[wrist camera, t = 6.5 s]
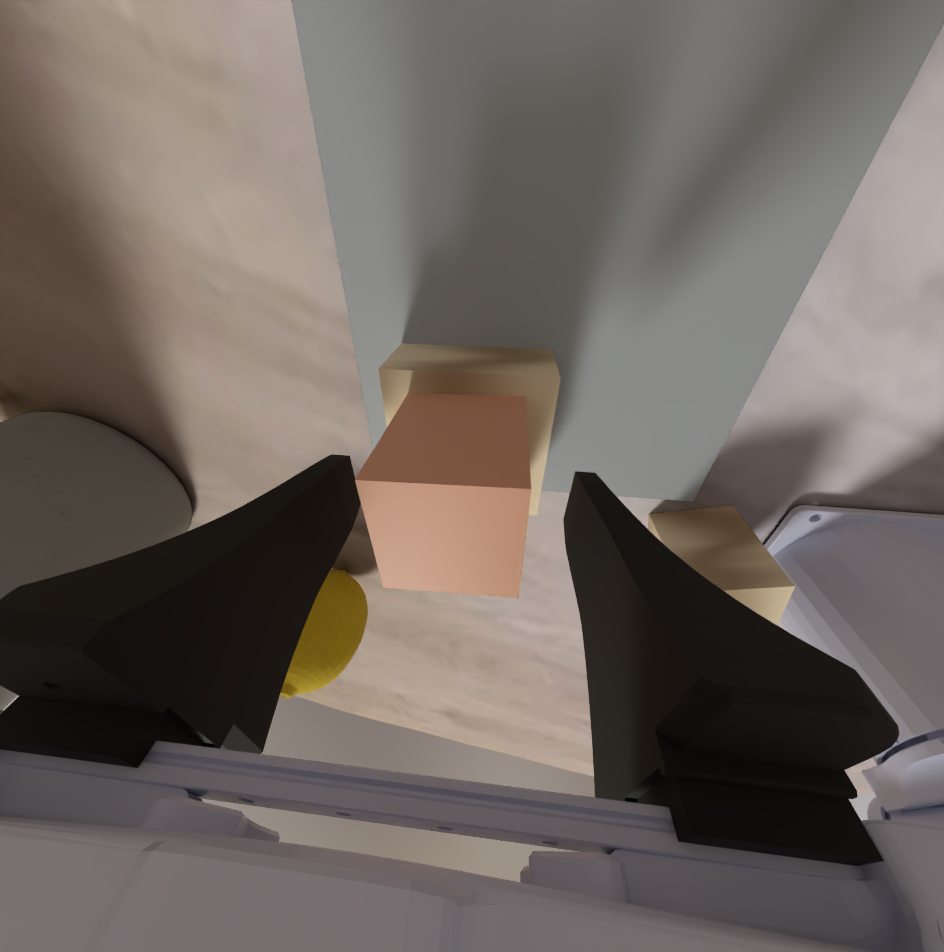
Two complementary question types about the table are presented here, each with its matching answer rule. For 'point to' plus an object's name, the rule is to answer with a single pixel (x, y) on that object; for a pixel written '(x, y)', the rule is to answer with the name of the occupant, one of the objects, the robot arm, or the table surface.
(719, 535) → the birch block
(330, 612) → the lemon
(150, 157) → the table surface
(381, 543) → the terracotta block
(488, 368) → the block
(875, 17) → the board
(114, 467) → the water bottle
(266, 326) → the table surface
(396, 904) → the robot arm
